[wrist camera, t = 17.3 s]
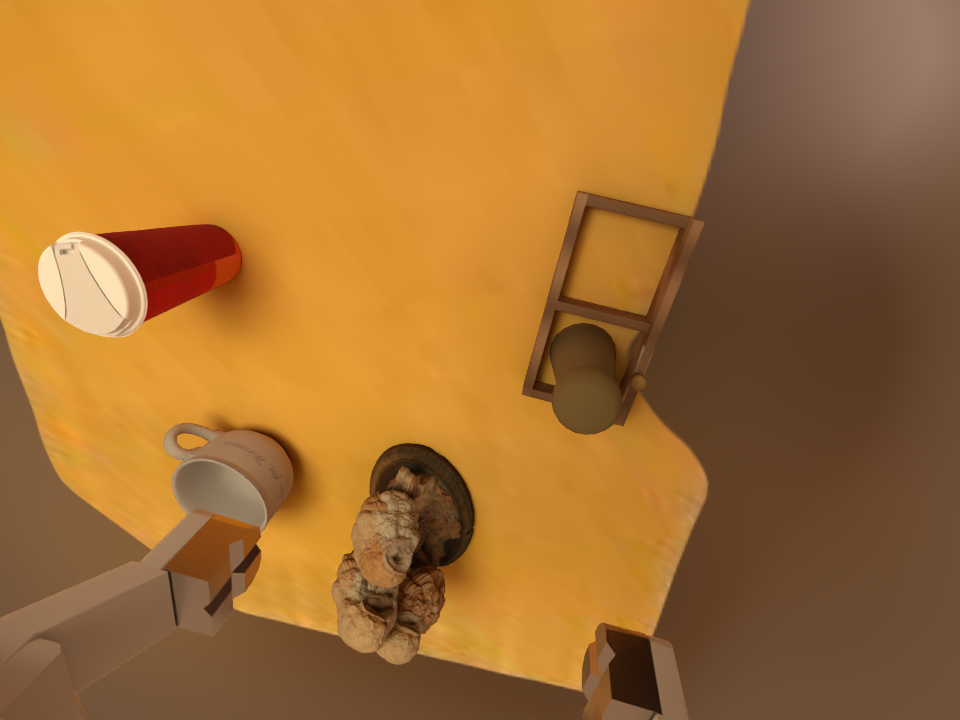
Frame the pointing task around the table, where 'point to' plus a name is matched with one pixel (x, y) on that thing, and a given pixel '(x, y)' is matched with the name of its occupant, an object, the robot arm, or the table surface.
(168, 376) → the table surface
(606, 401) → the cork
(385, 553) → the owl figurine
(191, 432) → the teacup
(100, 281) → the paper cup
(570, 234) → the wooden divided frame
